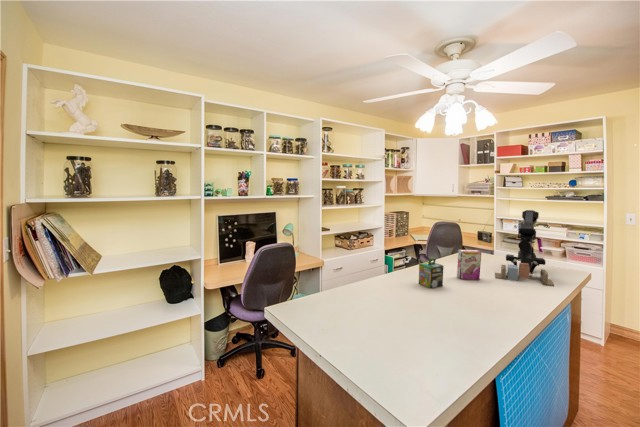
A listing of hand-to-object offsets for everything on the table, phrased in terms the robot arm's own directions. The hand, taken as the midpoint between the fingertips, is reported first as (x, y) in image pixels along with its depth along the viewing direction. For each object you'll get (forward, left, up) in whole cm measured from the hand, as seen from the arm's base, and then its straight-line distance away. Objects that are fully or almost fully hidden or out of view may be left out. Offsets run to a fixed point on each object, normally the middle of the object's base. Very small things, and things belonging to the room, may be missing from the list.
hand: (523, 273), depth 171 cm
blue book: (+8, -6, -2) cm, 10 cm away
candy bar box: (+21, -28, -2) cm, 35 cm away
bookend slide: (+8, +10, -1) cm, 13 cm away
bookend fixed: (+8, -12, -1) cm, 14 cm away
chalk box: (+43, -45, -2) cm, 62 cm away
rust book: (0, 0, -2) cm, 2 cm away
